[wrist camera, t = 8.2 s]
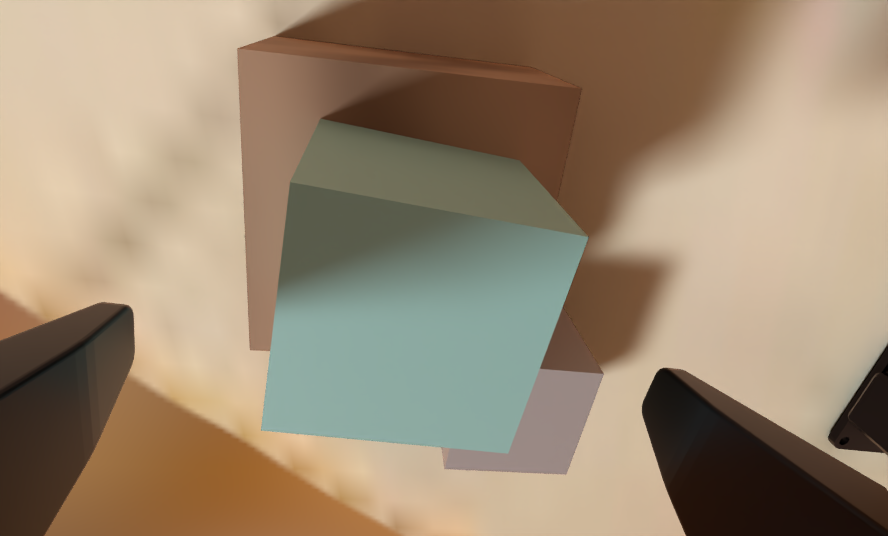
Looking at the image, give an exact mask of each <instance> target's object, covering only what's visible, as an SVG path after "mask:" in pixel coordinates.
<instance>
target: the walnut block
mask: <svg viewBox="0 0 888 536" xmlns="http://www.w3.org/2000/svg"><path fill="white" fill-rule="evenodd" d="M237 51H238V75H239V99H240V124H241V148H242V172H243V196H244V220H245V244H246V268H247V293H248V317H249V341H250V350H260V351H270V349H271V340H272V332H273V323H274V315H275V306H276V297H277V289H278V280H279V272H280V263H281V255H282V246H283V237H284V229H285V220H286V212H287V203H288V195H289V186H290V181H291V179H292V177H293V175H294V173H295V170H296V168H297V166H298V164H299V162H300V160H301V158H302V156H303V154H304V152H305V150H306V148H307V145H308V143H309V141H310V139H311V137H312V135H313V133H314V131H315V129H316V127H317V125H318V123H319V120H320V119H325V120H330V121H334V122H339V123H344V124H349V125H353V126H358V127H363V128H368V129H373V130H377V131H382V132H387V133H392V134H396V135H401V136H406V137H411V138H415V139H420V140H425V141H430V142H434V143H439V144H444V145H449V146H454V147H458V148H463V149H468V150H473V151H477V152H482V153H487V154H492V155H496V156H501V157H506V158H511V159H515V160H520V161H521V162H522V164H523V165H524V166H525V167H526V168H527V169H528V170H529V171H530V172H531V174H532V175H533V176H534V177H535V178H536V179H537V180H538V181H539V182H540V184H541V185H542V186H543V187H544V188H545V189H546V190H547V191H548V192H549V194H550V195H551V196H552V197H553V198H554V199H555V200H556V201H557V199H558V194H559V190H560V185H561V181H562V176H563V172H564V167H565V163H566V158H567V154H568V149H569V145H570V140H571V136H572V131H573V126H574V122H575V117H576V113H577V108H578V104H579V99H580V95H581V90H582V89H581V88H579V87H577V86H574V85H572V84H570V83H567V82H565V81H563V80H560V79H558V78H556V77H553V76H551V75H549V74H546V73H544V72H542V71H539V70H537V69H535V68H532V67H525V66H517V65H509V64H501V63H492V62H484V61H476V60H468V59H459V58H451V57H443V56H435V55H426V54H418V53H410V52H402V51H393V50H385V49H377V48H369V47H360V46H352V45H344V44H336V43H327V42H319V41H311V40H303V39H294V38H286V37H278V36H273V37H270V38H267V39H264V40H261V41H258V42H255V43H252V44H249V45H246V46H243V47H240V48H237Z"/></svg>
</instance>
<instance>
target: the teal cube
mask: <svg viewBox="0 0 888 536" xmlns="http://www.w3.org/2000/svg"><path fill="white" fill-rule="evenodd" d="M588 238H589V237H588V236H587V235H586V234H585V232H584V231H583V230H582V229H581V228H580V227H579V226H578V225H577V224H576V222H575V221H574V220H573V219H572V218H571V217H570V216H569V215H568V214H567V212H566V211H565V210H564V209H563V208H562V207H561V206H560V205H559V204H558V202H557V201H556V200H555V199H554V198H553V197H552V196H551V195H550V194H549V192H548V191H547V190H546V189H545V188H544V187H543V186H542V185H541V184H540V182H539V181H538V180H537V179H536V178H535V177H534V176H533V175H532V174H531V172H530V171H529V170H528V169H527V168H526V167H525V166H524V165H523V164H522V162H521V161H520V160H515V159H511V158H506V157H501V156H496V155H492V154H487V153H482V152H477V151H473V150H468V149H463V148H458V147H454V146H449V145H444V144H439V143H434V142H430V141H425V140H420V139H415V138H411V137H406V136H401V135H396V134H392V133H387V132H382V131H377V130H373V129H368V128H363V127H358V126H353V125H349V124H344V123H339V122H334V121H330V120H325V119H320V120H319V123H318V125H317V127H316V129H315V131H314V133H313V135H312V137H311V139H310V141H309V143H308V145H307V148H306V150H305V152H304V154H303V156H302V158H301V160H300V162H299V164H298V166H297V168H296V170H295V173H294V175H293V177H292V179H291V181H290V186H289V195H288V203H287V212H286V220H285V229H284V237H283V246H282V255H281V263H280V272H279V280H278V289H277V297H276V306H275V315H274V323H273V332H272V340H271V349H270V357H269V366H268V375H267V383H266V392H265V400H264V409H263V417H262V426H261V430H262V431H272V432H283V433H294V434H304V435H315V436H325V437H336V438H347V439H357V440H368V441H379V442H389V443H400V444H411V445H421V446H432V447H443V448H453V449H464V450H474V451H485V452H496V453H506V454H508V452H509V450H510V447H511V444H512V442H513V439H514V436H515V434H516V431H517V428H518V426H519V423H520V420H521V418H522V415H523V412H524V410H525V407H526V404H527V401H528V399H529V396H530V393H531V391H532V388H533V385H534V383H535V380H536V377H537V375H538V372H539V369H540V367H541V364H542V361H543V359H544V356H545V353H546V350H547V348H548V345H549V342H550V340H551V337H552V334H553V332H554V329H555V326H556V324H557V321H558V318H559V316H560V313H561V310H562V308H563V305H564V302H565V299H566V297H567V294H568V291H569V289H570V286H571V283H572V281H573V278H574V275H575V273H576V270H577V267H578V265H579V262H580V259H581V257H582V254H583V251H584V248H585V246H586V243H587V240H588Z"/></svg>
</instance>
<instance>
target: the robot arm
mask: <svg viewBox="0 0 888 536" xmlns="http://www.w3.org/2000/svg"><path fill="white" fill-rule="evenodd" d="M134 353H135V342H134V315H133V311H132V308H131V307H130V306H128V305H124V304H115V303H107V302H101V303H97V304H95V305H92V306H90V307H87V308H84V309H82V310H79V311H77V312H74V313H71V314H69V315H66V316H63V317H61V318H58V319H56V320H53V321H50V322H48V323H45V324H43V325H40V326H37V327H35V328H32V329H29V330H27V331H24V332H22V333H19V334H16V335H14V336H11V337H9V338H6V339H3V340H1V341H0V536H44V535H45V534H46V532H47V530H48V528H49V527H50V525H51V524H52V522H53V520H54V518H55V517H56V515H57V513H58V512H59V510H60V508H61V507H62V505H63V503H64V501H65V500H66V498H67V496H68V495H69V493H70V491H71V490H72V488H73V486H74V485H75V483H76V481H77V479H78V478H79V476H80V474H81V473H82V471H83V469H84V468H85V466H86V464H87V462H88V461H89V459H90V457H91V455H92V453H93V451H94V450H95V447H96V445H97V443H98V441H99V439H100V437H101V434H102V432H103V430H104V428H105V425H106V423H107V421H108V419H109V416H110V414H111V411H112V409H113V407H114V405H115V403H116V400H117V398H118V396H119V393H120V391H121V389H122V386H123V384H124V382H125V380H126V377H127V375H128V373H129V371H130V368H131V366H132V363H133V359H134ZM642 415H643V419H644V422H645V425H646V428H647V431H648V434H649V437H650V441H651V444H652V447H653V450H654V453H655V456H656V459H657V462H658V466H659V469H660V472H661V475H662V478H663V481H664V484H665V487H666V490H667V492H668V495H669V497H670V500H671V502H672V504H673V507H674V509H675V511H676V514H677V516H678V518H679V521H680V523H681V525H682V528H683V530H684V532H685V535H686V536H888V491H887V489H886V488H885V487H883V486H882V485H880V484H878V483H876V482H875V481H873V480H871V479H870V478H868V477H866V476H864V475H863V474H861V473H859V472H858V471H856V470H854V469H852V468H851V467H849V466H847V465H846V464H844V463H842V462H840V461H839V460H837V459H835V458H834V457H832V456H830V455H828V454H827V453H825V452H823V451H822V450H820V449H818V448H816V447H815V446H813V445H811V444H810V443H808V442H806V441H804V440H803V439H801V438H799V437H798V436H796V435H794V434H792V433H791V432H789V431H787V430H786V429H784V428H782V427H781V426H779V425H777V424H775V423H774V422H772V421H770V420H769V419H767V418H765V417H763V416H762V415H760V414H758V413H757V412H755V411H753V410H751V409H750V408H748V407H746V406H745V405H743V404H741V403H739V402H738V401H736V400H734V399H733V398H731V397H729V396H727V395H726V394H724V393H722V392H721V391H719V390H717V389H715V388H714V387H712V386H710V385H709V384H707V383H705V382H703V381H702V380H700V379H698V378H697V377H695V376H693V375H691V374H690V373H688V372H686V371H684V370H681V369H673V368H662V369H660V370H659V371H658V372H657V373H656V375H655V377H654V379H653V381H652V383H651V386H650V388H649V390H648V392H647V394H646V396H645V399H644V401H643V404H642ZM828 440H829V441H830V442H831V443H832V444H833V445H834V446H835V447H836V448H838V449H847V450H858V451H869V452H879V453H885V454H887V455H888V347H887V349H886V350H885V352H884V353H883V355H882V356H881V358H880V359H879V361H878V362H877V364H876V365H875V367H874V368H873V370H872V371H871V373H870V374H869V376H868V377H867V379H866V380H865V382H864V383H863V385H862V386H861V388H860V389H859V391H858V392H857V394H856V395H855V397H854V398H853V400H852V401H851V403H850V404H849V406H848V407H847V409H846V410H845V412H844V413H843V415H842V416H841V418H840V419H839V421H838V422H837V424H836V425H835V427H834V428H833V430H832V431H831V433H830V434H829V436H828Z"/></svg>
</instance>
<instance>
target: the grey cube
mask: <svg viewBox="0 0 888 536" xmlns="http://www.w3.org/2000/svg"><path fill="white" fill-rule="evenodd" d="M603 375H604V374H603V372H602V370H601V369H600V367H599V365H598V364H597V362H596V360H595V359H594V357H593V355H592V354H591V352H590V350H589V349H588V347H587V345H586V344H585V342H584V341H583V339H582V337H581V336H580V334H579V332H578V331H577V329H576V327H575V326H574V324H573V322H572V321H571V319H570V317H569V316H568V314H567V313H566V311H565V309H564V308H562V310H561V313H560V316H559V318H558V321H557V324H556V326H555V329H554V332H553V334H552V337H551V340H550V342H549V345H548V348H547V350H546V353H545V356H544V359H543V361H542V364H541V367H540V369H539V372H538V375H537V377H536V380H535V383H534V385H533V388H532V391H531V393H530V396H529V399H528V401H527V404H526V407H525V410H524V412H523V415H522V418H521V420H520V423H519V426H518V428H517V431H516V434H515V436H514V439H513V442H512V444H511V447H510V450H509V452H508V454H506V453H496V452H485V451H474V450H464V449H453V448H443V447H442V454H443V461H444V468H445V469H457V470H479V471H500V472H522V473H544V474H565V475H566V474H567V471H568V469H569V466H570V463H571V461H572V458H573V455H574V453H575V450H576V447H577V445H578V442H579V439H580V437H581V434H582V431H583V429H584V426H585V423H586V420H587V418H588V415H589V412H590V410H591V407H592V404H593V402H594V399H595V396H596V394H597V391H598V388H599V386H600V383H601V380H602V378H603Z"/></svg>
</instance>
